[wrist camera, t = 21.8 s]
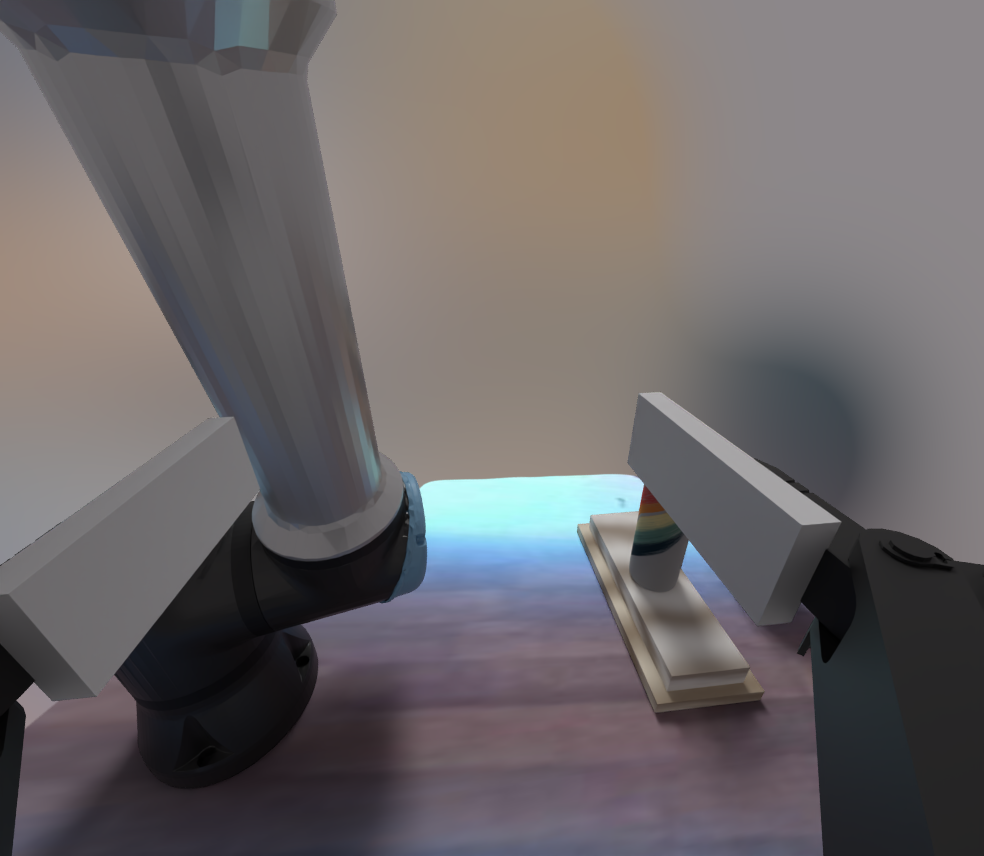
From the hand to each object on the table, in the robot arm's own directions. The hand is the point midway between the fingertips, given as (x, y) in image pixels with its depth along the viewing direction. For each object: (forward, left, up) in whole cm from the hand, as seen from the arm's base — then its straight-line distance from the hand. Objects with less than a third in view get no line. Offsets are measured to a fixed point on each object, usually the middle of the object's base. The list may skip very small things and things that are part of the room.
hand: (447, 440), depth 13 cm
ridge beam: (+7, +30, -36) cm, 48 cm away
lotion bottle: (+7, +30, -32) cm, 45 cm away
